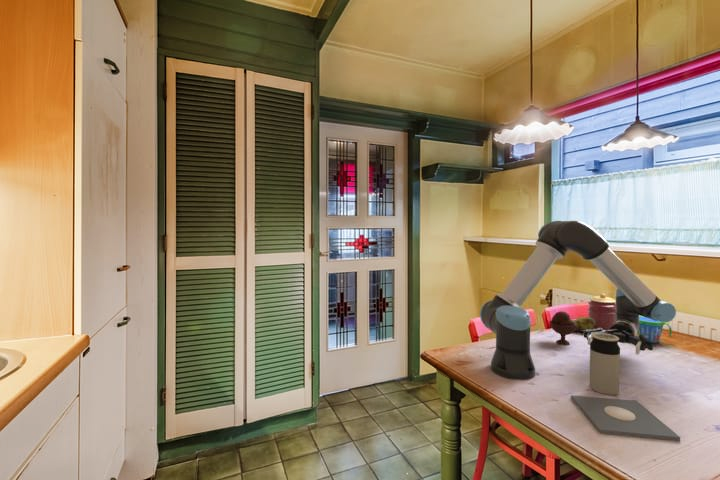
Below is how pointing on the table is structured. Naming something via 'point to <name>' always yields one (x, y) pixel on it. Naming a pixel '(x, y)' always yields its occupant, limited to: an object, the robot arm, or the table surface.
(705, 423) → the table surface
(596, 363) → the travel mug
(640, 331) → the snack cup
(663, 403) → the table surface
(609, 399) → the mat
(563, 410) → the table surface
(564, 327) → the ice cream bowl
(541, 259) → the robot arm
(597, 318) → the canister
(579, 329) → the potato
